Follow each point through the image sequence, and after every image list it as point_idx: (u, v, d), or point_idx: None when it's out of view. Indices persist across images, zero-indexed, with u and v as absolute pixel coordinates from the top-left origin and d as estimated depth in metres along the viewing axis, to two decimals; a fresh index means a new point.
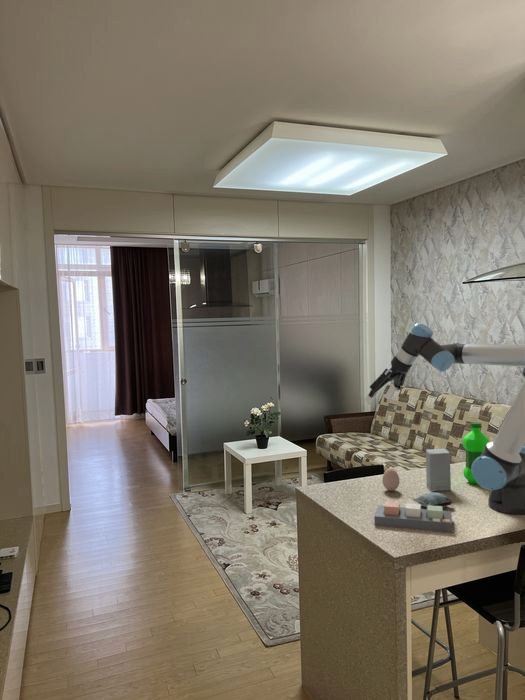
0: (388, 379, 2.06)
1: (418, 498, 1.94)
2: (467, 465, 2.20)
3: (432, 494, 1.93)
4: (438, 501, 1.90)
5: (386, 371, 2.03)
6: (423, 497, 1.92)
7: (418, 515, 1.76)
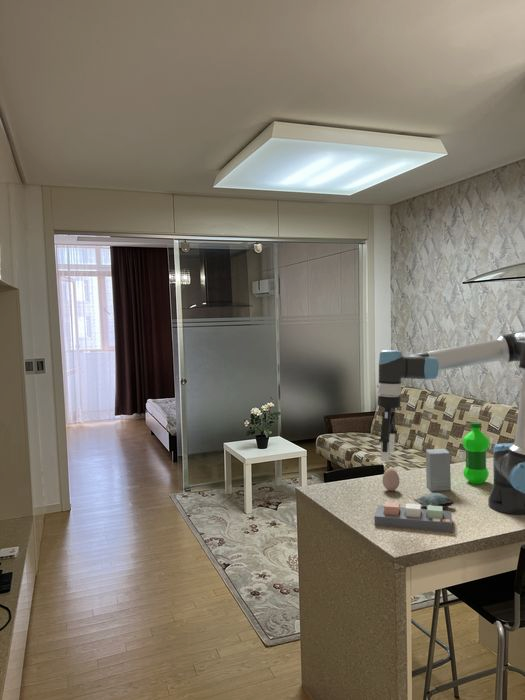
0: (390, 423, 1.78)
1: (419, 498, 1.94)
2: (467, 465, 2.20)
3: (433, 494, 1.93)
4: (439, 501, 1.89)
5: (385, 414, 1.76)
6: (424, 497, 1.92)
7: (418, 515, 1.76)
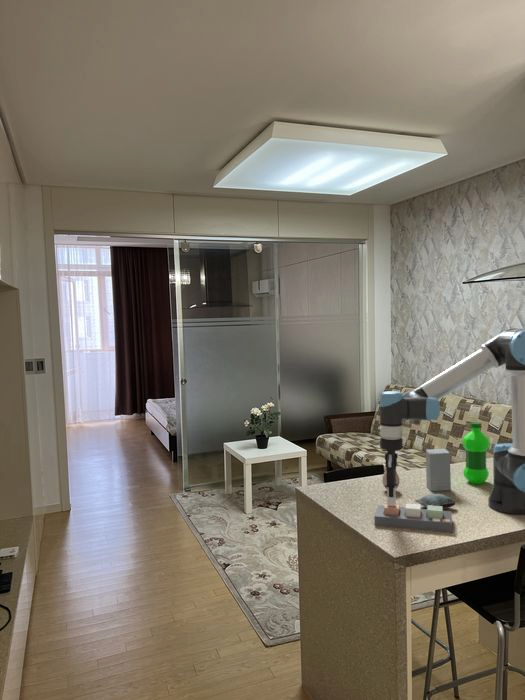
0: (393, 467, 1.78)
1: (420, 499, 1.93)
2: (467, 465, 2.20)
3: (434, 495, 1.92)
4: (440, 502, 1.89)
5: (388, 464, 1.75)
6: (425, 498, 1.91)
7: (418, 515, 1.76)
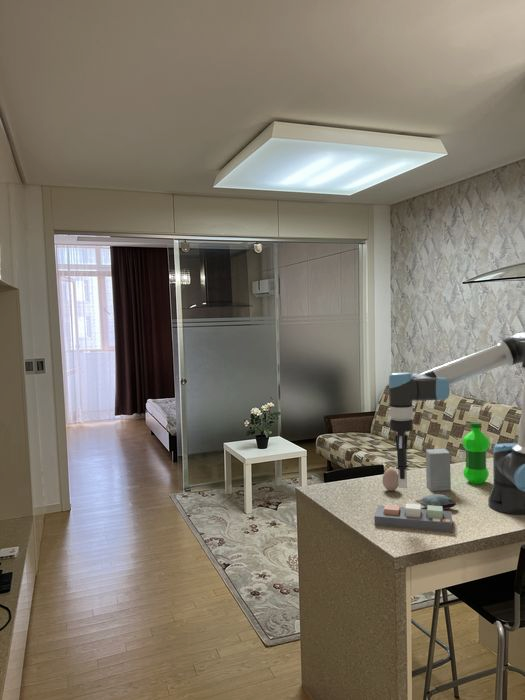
0: None
1: (421, 500, 1.92)
2: (467, 465, 2.20)
3: (435, 496, 1.91)
4: (441, 502, 1.88)
5: (399, 446, 1.73)
6: (426, 499, 1.90)
7: (418, 515, 1.76)
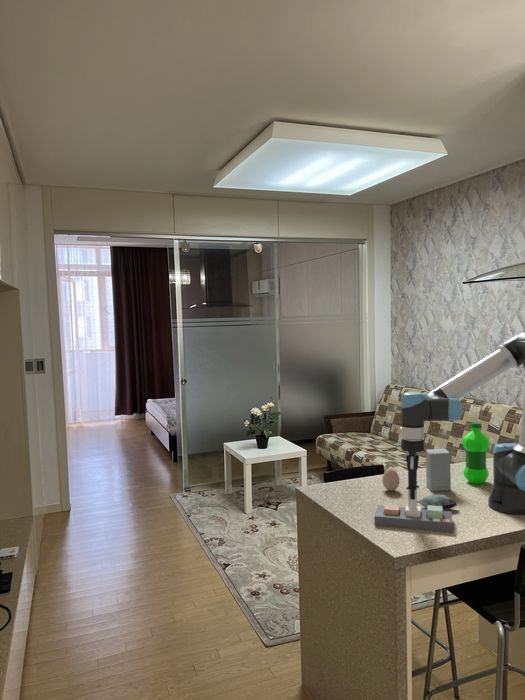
0: None
1: (422, 500, 1.92)
2: (467, 465, 2.20)
3: (436, 496, 1.91)
4: (442, 503, 1.88)
5: (410, 466, 1.72)
6: (427, 499, 1.90)
7: None
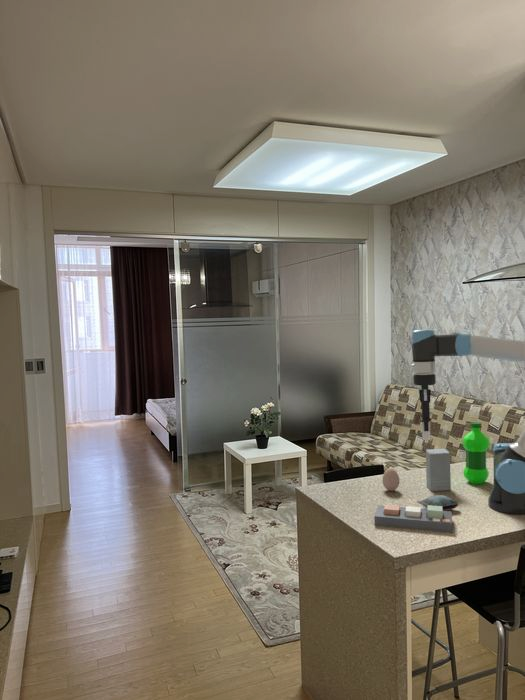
0: None
1: (423, 500, 1.91)
2: (467, 465, 2.20)
3: (437, 497, 1.90)
4: (443, 503, 1.87)
5: (424, 398, 1.81)
6: (428, 500, 1.89)
7: None
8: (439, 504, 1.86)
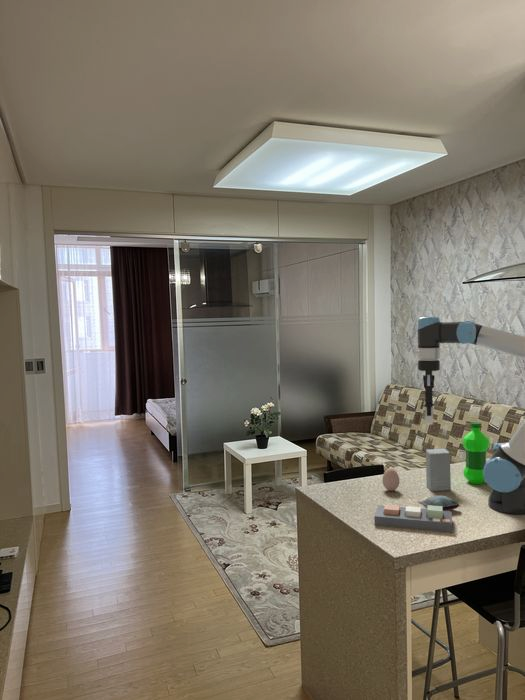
0: (431, 387, 1.90)
1: (424, 501, 1.91)
2: (467, 465, 2.20)
3: (438, 497, 1.90)
4: (444, 504, 1.87)
5: (427, 383, 1.86)
6: (429, 500, 1.89)
7: None
8: (440, 505, 1.86)
